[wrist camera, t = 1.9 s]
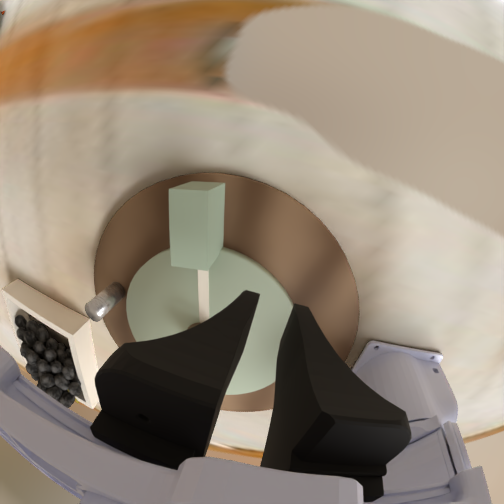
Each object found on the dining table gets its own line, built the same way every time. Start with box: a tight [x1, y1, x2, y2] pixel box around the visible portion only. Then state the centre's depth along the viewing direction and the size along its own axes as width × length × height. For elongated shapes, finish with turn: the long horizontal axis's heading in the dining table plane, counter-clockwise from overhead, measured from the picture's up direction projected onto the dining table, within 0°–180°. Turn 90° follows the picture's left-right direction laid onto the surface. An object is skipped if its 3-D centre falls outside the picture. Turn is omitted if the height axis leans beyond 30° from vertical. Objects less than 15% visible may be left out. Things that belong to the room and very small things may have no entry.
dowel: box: [85, 282, 126, 322], centre depth 23 cm, size 2×2×5 cm
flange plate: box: [126, 181, 293, 395], centre depth 20 cm, size 20×15×4 cm
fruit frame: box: [2, 279, 99, 409], centre depth 30 cm, size 15×15×4 cm
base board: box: [94, 173, 359, 412], centre depth 22 cm, size 25×25×6 cm
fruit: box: [15, 315, 82, 408], centre depth 28 cm, size 9×8×15 cm
